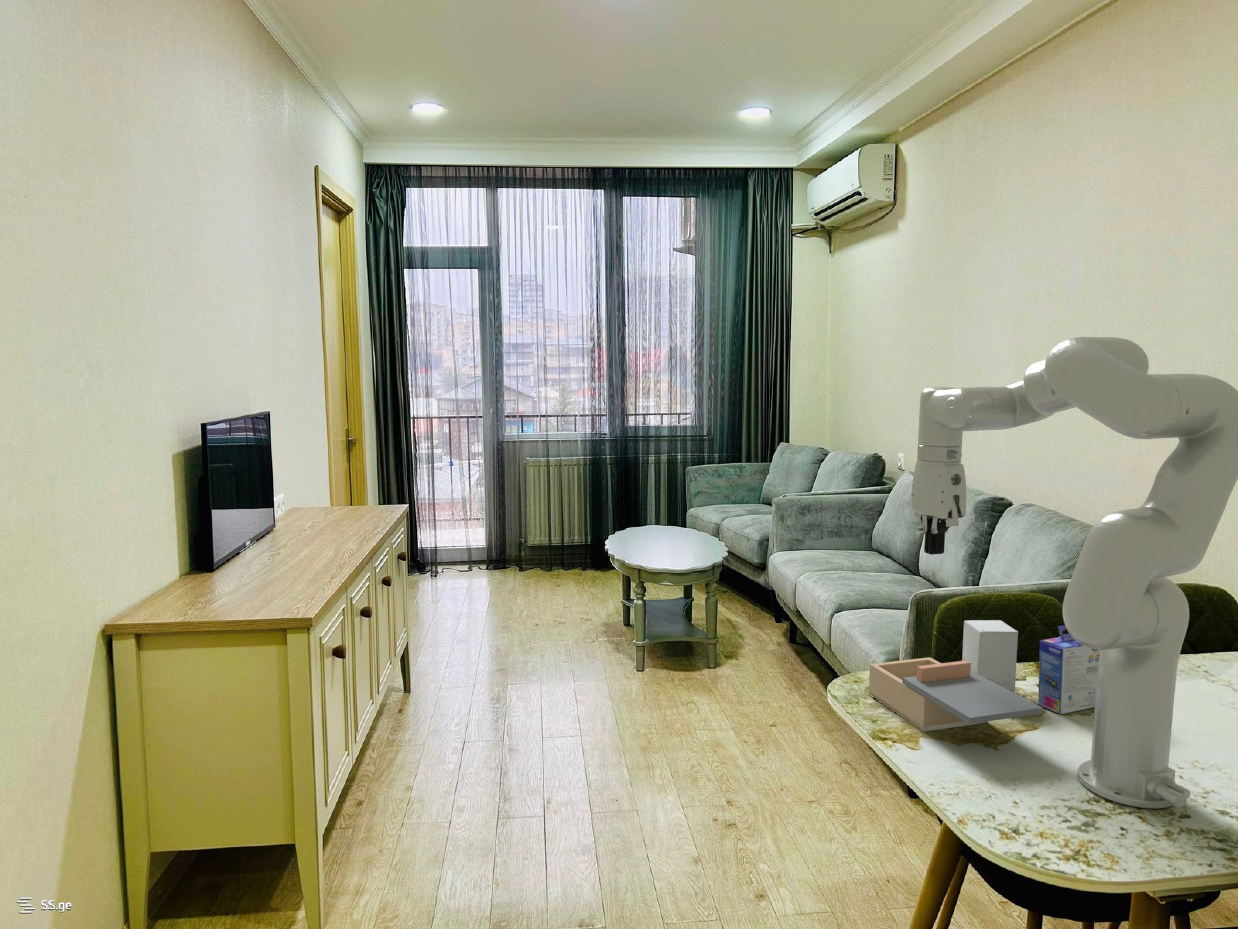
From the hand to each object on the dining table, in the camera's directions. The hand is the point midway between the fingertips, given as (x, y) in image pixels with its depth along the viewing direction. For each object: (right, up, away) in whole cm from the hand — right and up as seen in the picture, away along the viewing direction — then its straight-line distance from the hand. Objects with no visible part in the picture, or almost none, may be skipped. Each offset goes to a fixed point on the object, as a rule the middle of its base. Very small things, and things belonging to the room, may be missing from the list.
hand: (934, 553), depth 153 cm
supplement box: (+11, -27, +3) cm, 29 cm away
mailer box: (-3, -27, -5) cm, 28 cm away
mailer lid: (0, -22, -16) cm, 28 cm away
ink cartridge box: (+23, -27, -4) cm, 36 cm away
